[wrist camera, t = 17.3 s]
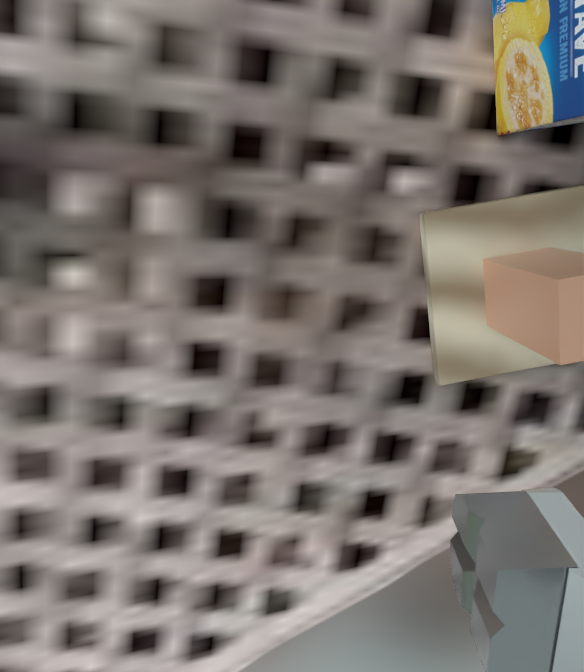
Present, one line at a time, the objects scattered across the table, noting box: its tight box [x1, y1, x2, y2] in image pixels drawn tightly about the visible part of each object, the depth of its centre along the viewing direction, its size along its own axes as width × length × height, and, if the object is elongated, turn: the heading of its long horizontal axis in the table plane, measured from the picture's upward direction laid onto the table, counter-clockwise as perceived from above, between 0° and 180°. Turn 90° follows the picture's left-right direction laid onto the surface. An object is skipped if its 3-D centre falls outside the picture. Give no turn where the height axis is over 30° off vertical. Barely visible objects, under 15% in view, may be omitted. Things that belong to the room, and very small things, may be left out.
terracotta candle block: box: [483, 247, 584, 365], centre depth 36 cm, size 5×5×10 cm
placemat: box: [419, 184, 584, 386], centre depth 41 cm, size 14×14×1 cm
